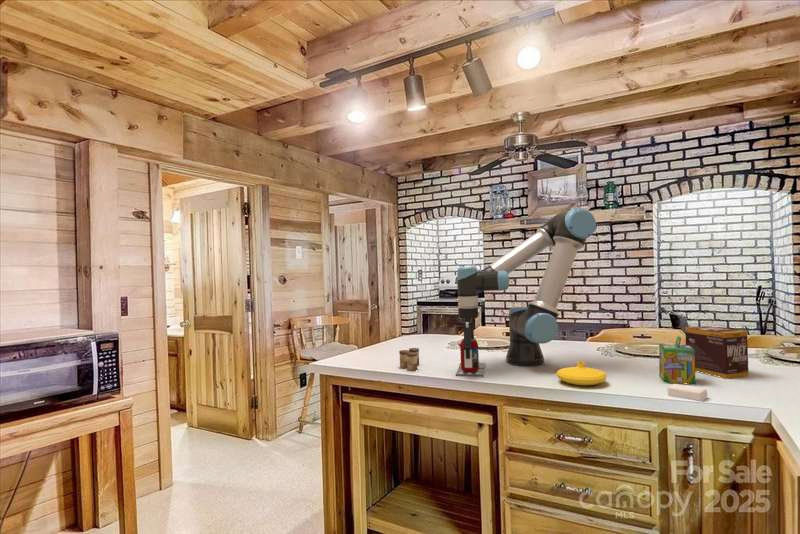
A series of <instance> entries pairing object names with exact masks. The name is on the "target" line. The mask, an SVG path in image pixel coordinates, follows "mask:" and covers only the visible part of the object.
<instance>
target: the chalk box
mask: <svg viewBox="0 0 800 534" xmlns="http://www.w3.org/2000/svg"><path fill="white" fill-rule="evenodd" d="M681 341H682V337H681V336H680V335H678V336H677V338H676V340H675V343H674V344H673V343H672V344H669V343H658V352H659V353H658V354H659V356H658V357H659V358H658V359H659V363H658V365H659V367H658V368H659V369H658V370H659V374H658V375H659V377H660V379H661V380H662V382H663V381H664V382H671V383H670V384H679V383H687V384H686V385H691V384H697V383H696V372H695V351H694V349H693V348H692V347H691V346H689V345H686V344H681ZM664 382H663V383H664Z"/></svg>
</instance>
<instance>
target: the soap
mask: <svg viewBox="0 0 800 534" xmlns="http://www.w3.org/2000/svg"><path fill="white" fill-rule="evenodd" d="M666 393H667V396H668V397H674V398H678V399H679V398H680V399H685V400H690V401H696V402H703V401H705V400H706V399H708V390H707V389H706V388H704V387H697V386H690V385H687V384H679V383H672V384H671V385H669V386H667V391H666Z"/></svg>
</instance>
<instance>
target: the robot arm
mask: <svg viewBox="0 0 800 534" xmlns="http://www.w3.org/2000/svg"><path fill="white" fill-rule="evenodd" d="M596 228H597V220H596V218H595V216H594V215H593V213H592V212H591V211H589V210H588V209H586V208H582V207H581V208H577V207H576V208H572V209H569V210H566V211H563V212H559V213H557V214H555V215H554V216H552V217H551V218H550V219H548V221H546V222H545V223H544V224H542V225H541V226H540V227H538V228H537V229H536V232H535V233H534V234H532V235H530V237H528V238H527V239H525V240H524V241H522V242H521V243H519V244H518V245H516V246H514V247H513V248H512V249H510V251H508V252H506V253H505V254H503V255H502V256H500V257H499V258H498V259H496V260H494V261H493V262H491V264H489V265H488V266H486V267H484V268H483V269H481V270H478V267H476V266H460V267H458V268H457V272H456V273H457V275H456V280H457V281H456V282H457V298H456V302H458V303H457V306H458V309H457V312H458V314H457V316H458V318H459V319H464V322H462V328H463V331H462V332H463V339H464V347H462V350H464V361H465V368H472V349H471V339H475V332H474V331H475V322H474V319H477V318H478V317H479V293H478V292H496V291H498V292H501V291H507V290H508V288H509V286H510V276H509V274H511V273H512V272H514V271H515V270H517V269H518V268H520V267H521V266H522V265H524V264H525V263H527V262H528V261H530V260H531V259H533V258H534V257H535V256H537V255H538V254H541V252H543V251H545V250H546V249H547V248H552V247H553V248H552V252H551V255H550V258H549V260H548V262H547V265H546V268H545V271H544V274H543V276H542V279H541V282H540V285H539V286H538V289H537V292H536V294H535V298H534V300H533V301H531V302H529V303H528V305H527V306H517V307H516V306H515V307H513V306H512V307H510V308H509V309H508V310H509V311H508V320H509V321H508V324H509V325H508V327H509V346H508V349H507V353H506V356H505V359H506V361H505V362H506V363H507V364H510V365H512V366H520V367H521V366H523V367H530V366H531V367H534V366H541V365H543V364H544V363H545V356H544V354H543V351H542V348H541V346H540V345H541V344H542V345H543V344H548V343H549V342H551V341H553V340H554V339H555V337H556V336H557V334H558V332H559V324H558V322H557V319H558V317H559V311H558V308H557V307H558V305H559V303H560V299H561V296H562V293H563V291H564V289H565V287H566V286H565V285H566V283H567V280H568V278H569V275H570V271H571V270H572V267H573V265H574V261H575V259H576V256H577V253H578V251H579V250H582V249H583V248H584V247H585V244H586V242H587V239H588V238H590V237H592V235H593V234H594V233H595V231H596Z"/></svg>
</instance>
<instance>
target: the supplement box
mask: <svg viewBox="0 0 800 534" xmlns="http://www.w3.org/2000/svg"><path fill="white" fill-rule="evenodd" d="M684 333H685V345H689V346H691V347H692V348H693V349H694V351H695V371H699V372H703V373H707V374H706V375H708V374H711V375H710V376H712V375H716V376H720V377H723V378H722V379H724V378H729V379H735V378H734V377H737V378H744V376H745V377H749V376H750V374H749V373H750V371H749V352H748V351H749V350H748V330H741V329H736V328H735V329H734V328H726V327H718V326H717V327H716V326H709V325H703V326H691V327H685V332H684ZM699 372H698V373H699ZM703 373H702V374H703ZM716 376H715V377H716ZM720 377H719V378H720Z"/></svg>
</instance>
